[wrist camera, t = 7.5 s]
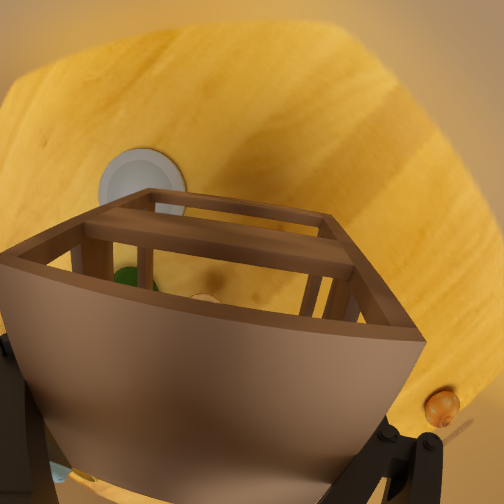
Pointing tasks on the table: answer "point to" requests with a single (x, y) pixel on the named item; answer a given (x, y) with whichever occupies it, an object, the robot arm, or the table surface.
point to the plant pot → (84, 476)
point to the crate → (204, 354)
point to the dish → (141, 177)
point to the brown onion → (442, 409)
